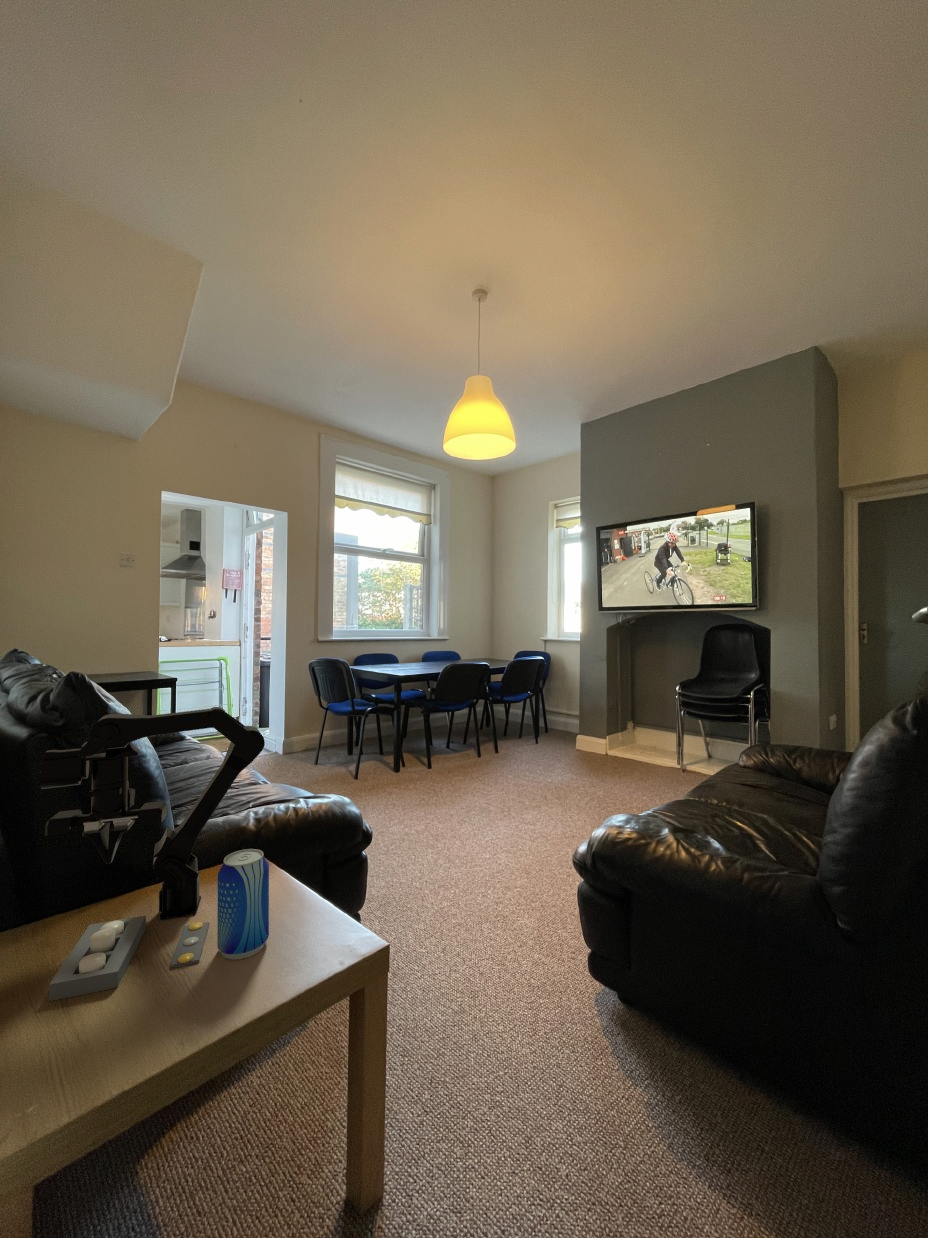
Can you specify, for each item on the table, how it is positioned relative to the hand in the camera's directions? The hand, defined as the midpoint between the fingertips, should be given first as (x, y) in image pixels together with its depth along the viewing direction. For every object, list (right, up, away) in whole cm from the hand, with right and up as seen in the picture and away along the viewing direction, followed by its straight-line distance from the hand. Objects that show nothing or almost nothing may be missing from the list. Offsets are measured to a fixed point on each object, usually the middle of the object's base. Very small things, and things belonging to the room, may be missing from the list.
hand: (109, 862), depth 99 cm
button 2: (+5, -11, -6) cm, 13 cm away
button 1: (+8, -11, -15) cm, 21 cm away
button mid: (+6, -10, -11) cm, 16 cm away
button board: (+6, -12, -11) cm, 17 cm away
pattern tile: (+19, -12, -6) cm, 23 cm away
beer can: (+29, -12, -7) cm, 32 cm away
